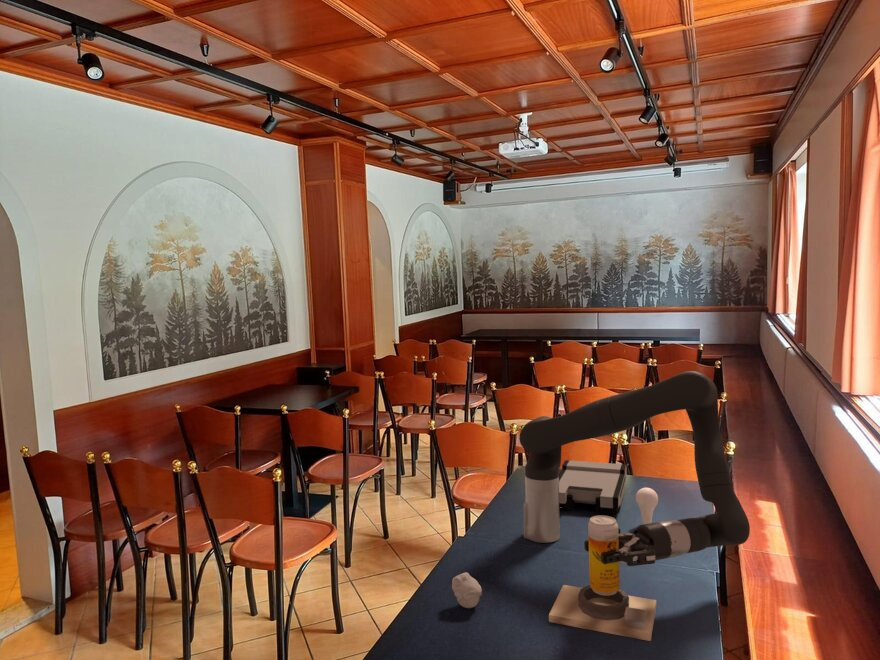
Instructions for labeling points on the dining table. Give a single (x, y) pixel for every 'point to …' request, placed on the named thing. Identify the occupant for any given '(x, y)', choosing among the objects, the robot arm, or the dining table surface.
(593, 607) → the board
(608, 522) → the beer can
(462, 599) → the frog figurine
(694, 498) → the dining table surface
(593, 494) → the game console
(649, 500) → the lightbulb
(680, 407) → the robot arm
